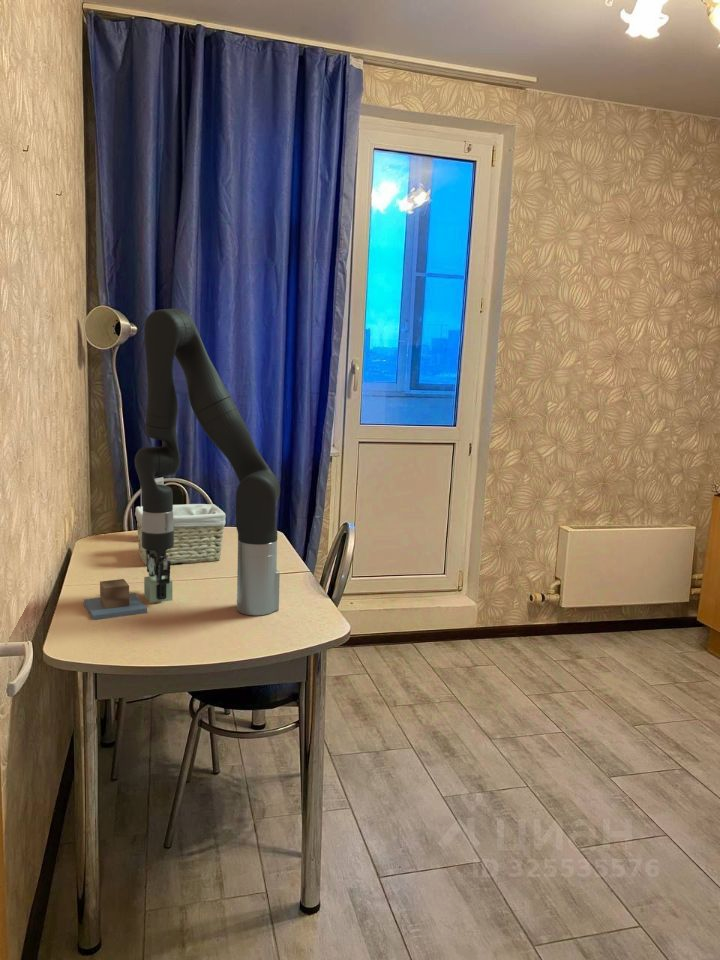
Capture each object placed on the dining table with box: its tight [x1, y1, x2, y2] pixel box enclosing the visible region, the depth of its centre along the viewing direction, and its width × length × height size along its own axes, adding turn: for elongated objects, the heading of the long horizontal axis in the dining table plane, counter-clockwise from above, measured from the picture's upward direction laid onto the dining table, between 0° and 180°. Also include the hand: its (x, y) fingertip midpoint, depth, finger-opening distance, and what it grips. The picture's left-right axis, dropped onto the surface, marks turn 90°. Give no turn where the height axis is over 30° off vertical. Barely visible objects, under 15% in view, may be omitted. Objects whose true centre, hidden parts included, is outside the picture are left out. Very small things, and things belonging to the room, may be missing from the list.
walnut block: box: [99, 578, 130, 609], centre depth 174 cm, size 6×6×5 cm
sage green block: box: [143, 575, 173, 604], centre depth 182 cm, size 6×6×5 cm
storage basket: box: [134, 503, 227, 566], centre depth 217 cm, size 24×16×15 cm
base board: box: [83, 592, 148, 621], centre depth 174 cm, size 12×12×1 cm
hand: (158, 594), depth 182 cm, fingers closed on sage green block, 5 cm apart
